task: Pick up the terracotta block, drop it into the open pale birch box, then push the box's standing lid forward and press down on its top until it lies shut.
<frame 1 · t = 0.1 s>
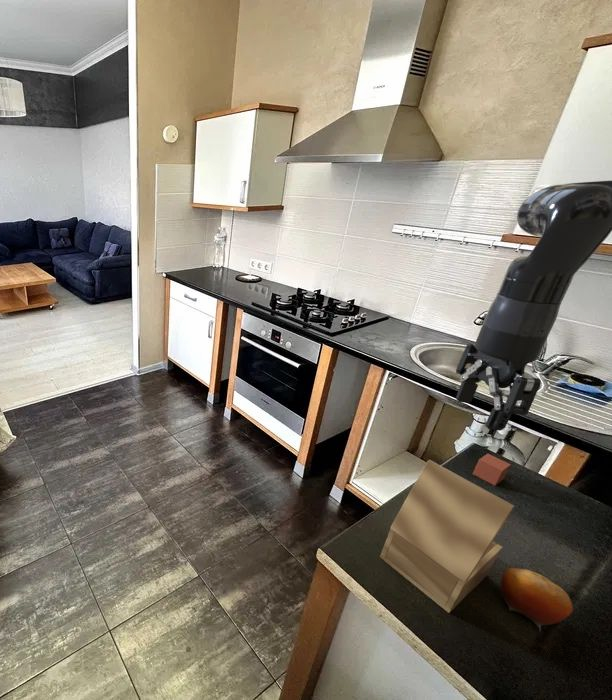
hand: (477, 414, 64), 29 cm above the kitchen counter, tool pointing down, fingers open, 8 cm apart
fruit: (525, 608, 62), on the kitchen counter
block: (487, 476, 90), on the kitchen counter
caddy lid: (446, 518, 61), point 15 cm above the kitchen counter, hinge at 70.0°
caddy: (432, 565, 69), on the kitchen counter
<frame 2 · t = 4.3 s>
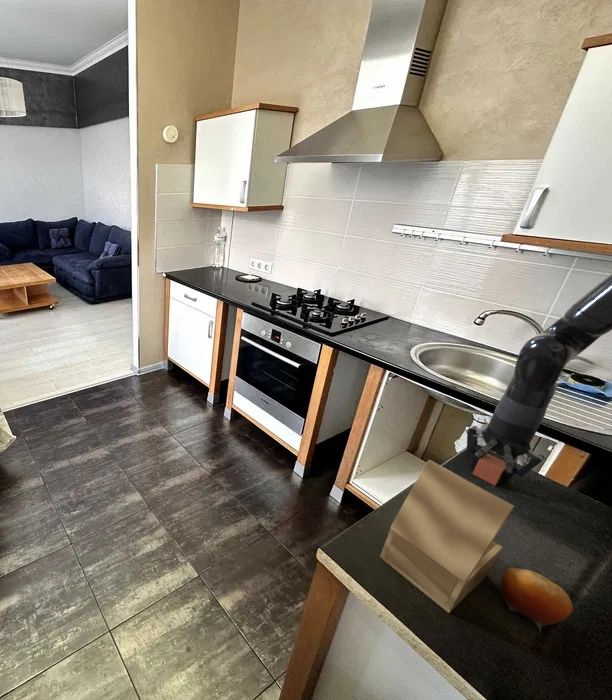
hand: (488, 475, 90), 0 cm above the kitchen counter, tool pointing down, fingers closed on block, 4 cm apart
block: (487, 476, 90), on the kitchen counter, touching gripper
everything else where it was.
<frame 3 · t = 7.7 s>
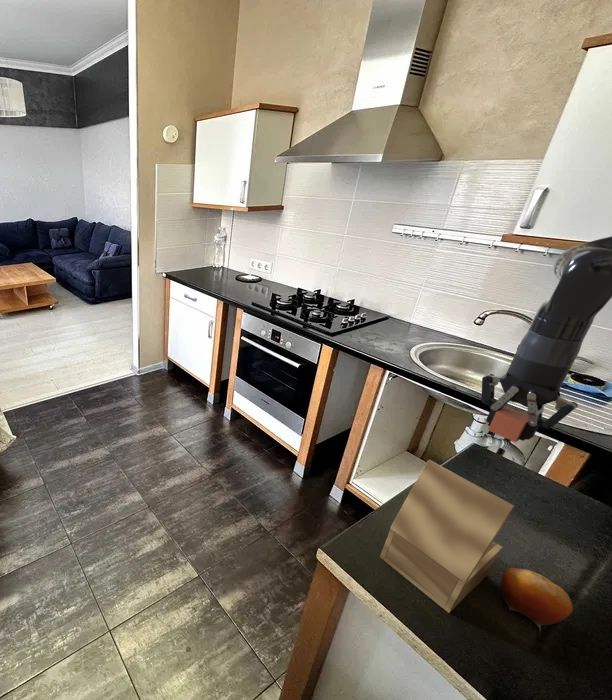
hand: (506, 431, 76), 19 cm above the kitchen counter, tool pointing down, fingers closed on block, 4 cm apart
block: (506, 433, 76), point 18 cm above the kitchen counter, touching gripper
everything else where it was.
when the fingers open (9 cm above the kitchen counter, at t = 11.3 s): block drops 8 cm, resting on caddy.
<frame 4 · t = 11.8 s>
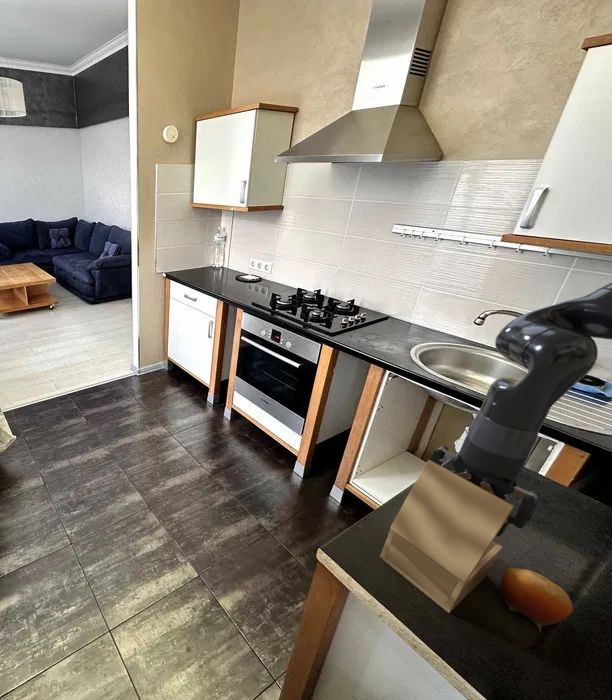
hand: (462, 515, 66), 11 cm above the kitchen counter, tool pointing down, fingers open, 8 cm apart
block: (443, 554, 70), point 1 cm above the kitchen counter, touching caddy
everything else where it was.
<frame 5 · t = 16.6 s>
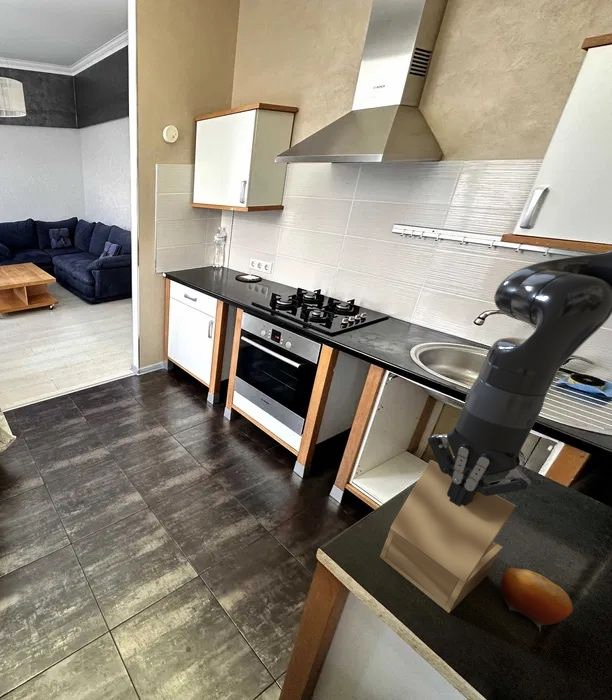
hand: (456, 501, 60), 18 cm above the kitchen counter, tool pointing down, fingers closed
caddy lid: (447, 517, 62), point 14 cm above the kitchen counter, hinge at 66.0°, touching gripper
everything else where it was.
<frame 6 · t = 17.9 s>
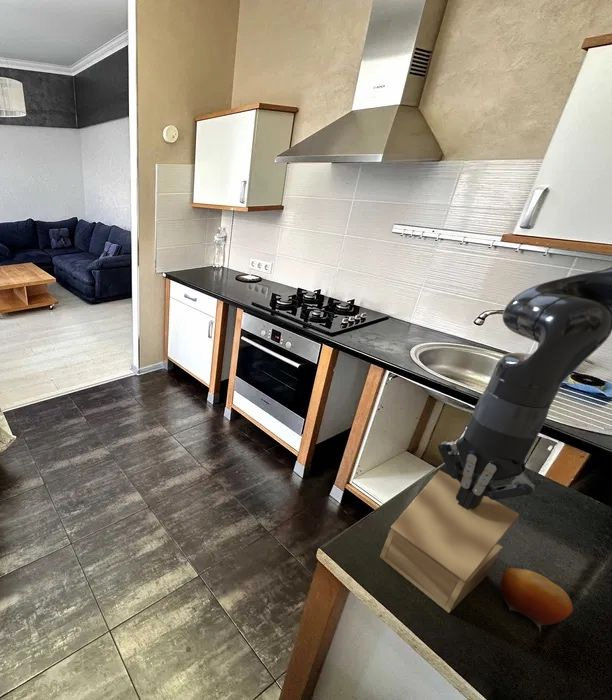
hand: (464, 505, 64), 14 cm above the kitchen counter, tool pointing down, fingers closed
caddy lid: (451, 521, 64), point 12 cm above the kitchen counter, hinge at 34.0°, touching gripper
everything else where it was.
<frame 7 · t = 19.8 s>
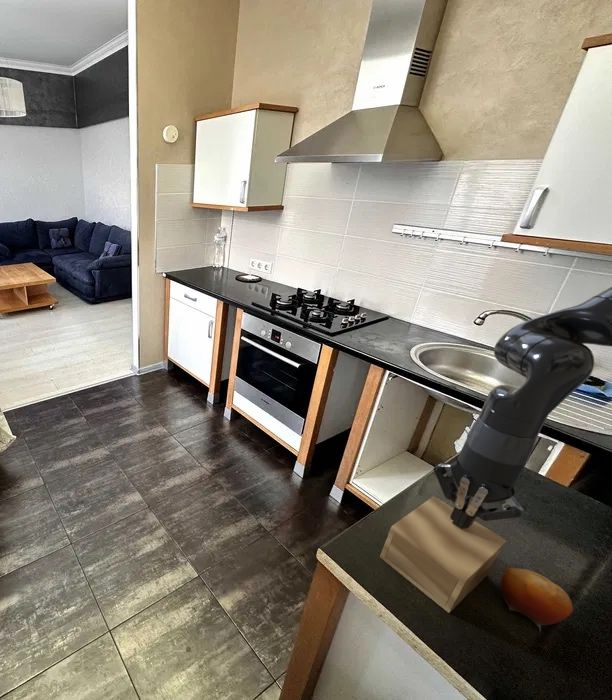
hand: (458, 524, 68), 8 cm above the kitchen counter, tool pointing down, fingers closed
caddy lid: (447, 534, 66), point 8 cm above the kitchen counter, hinge at 0.9°, touching gripper
everything else where it was.
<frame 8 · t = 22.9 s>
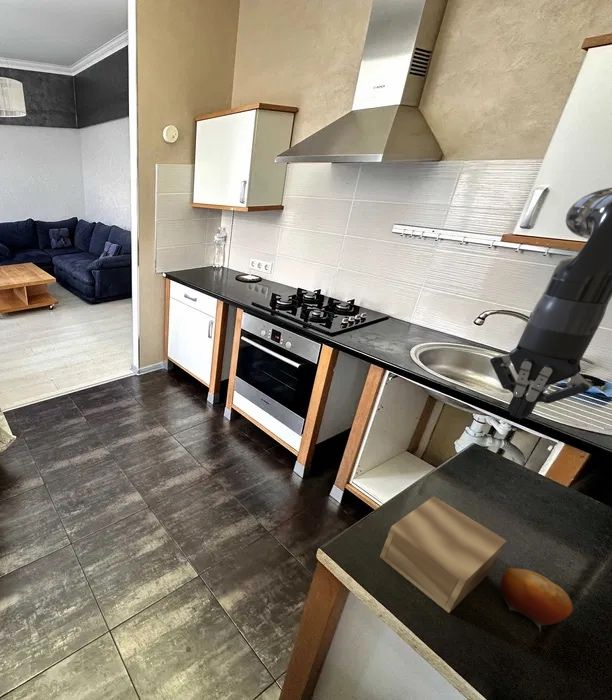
hand: (516, 415, 67), 27 cm above the kitchen counter, tool pointing down, fingers closed
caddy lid: (447, 534, 66), point 8 cm above the kitchen counter, hinge at 0.8°
everything else where it was.
at the end: block inside the target area in the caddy (3.5 cm from its centre), point 0.8 cm above the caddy's base; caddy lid at +1° (first picture: +70°) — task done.
